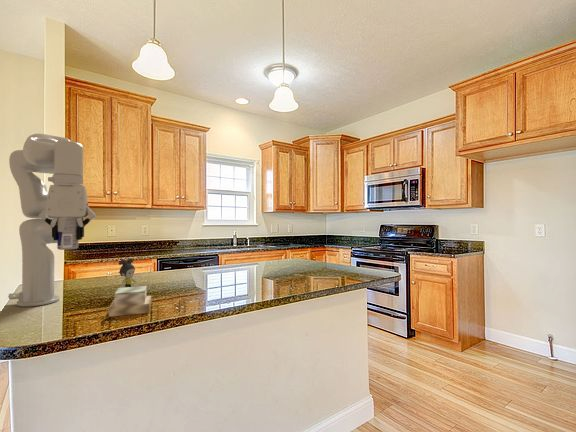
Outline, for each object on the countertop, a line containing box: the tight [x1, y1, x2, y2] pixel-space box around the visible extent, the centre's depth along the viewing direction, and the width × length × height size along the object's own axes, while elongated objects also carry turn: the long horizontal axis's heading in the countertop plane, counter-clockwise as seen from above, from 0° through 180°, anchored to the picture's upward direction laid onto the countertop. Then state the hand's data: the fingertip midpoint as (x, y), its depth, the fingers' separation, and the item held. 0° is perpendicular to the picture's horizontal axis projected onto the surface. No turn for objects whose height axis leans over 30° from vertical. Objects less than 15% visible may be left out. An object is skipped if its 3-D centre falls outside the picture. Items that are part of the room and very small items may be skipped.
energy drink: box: [56, 217, 79, 251], centre depth 97 cm, size 5×5×12 cm
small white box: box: [108, 285, 152, 317], centre depth 109 cm, size 12×12×7 cm
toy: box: [118, 258, 137, 287], centre depth 129 cm, size 8×5×15 cm, turn 168°
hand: (68, 239), depth 97 cm, fingers closed on energy drink, 5 cm apart
